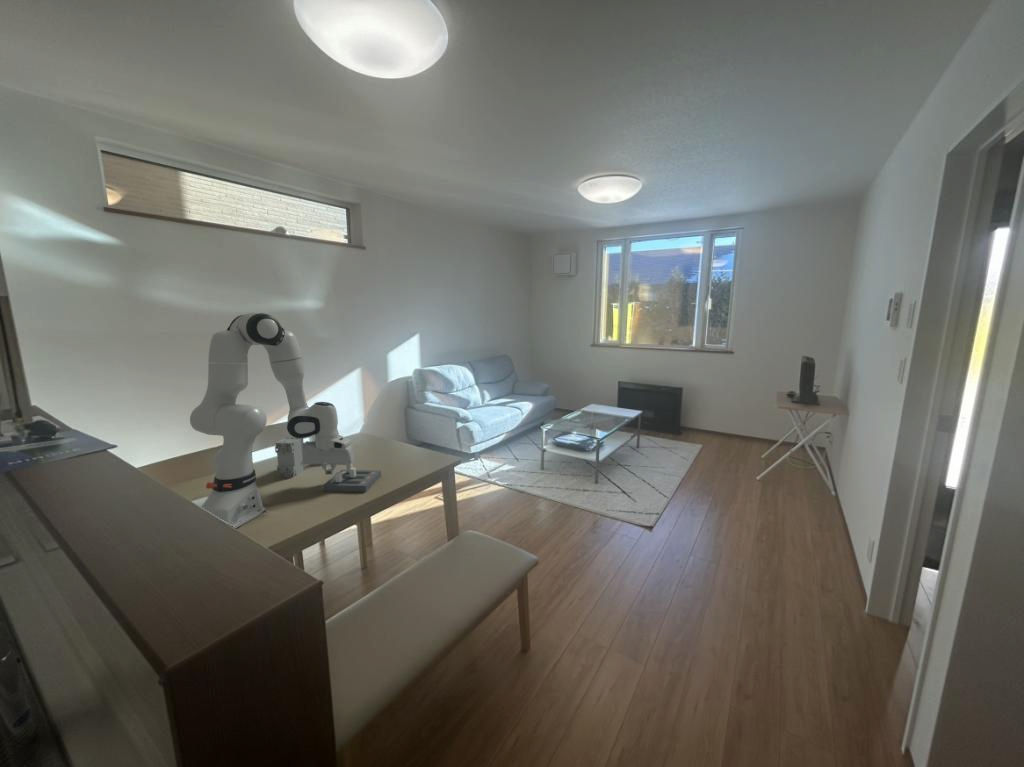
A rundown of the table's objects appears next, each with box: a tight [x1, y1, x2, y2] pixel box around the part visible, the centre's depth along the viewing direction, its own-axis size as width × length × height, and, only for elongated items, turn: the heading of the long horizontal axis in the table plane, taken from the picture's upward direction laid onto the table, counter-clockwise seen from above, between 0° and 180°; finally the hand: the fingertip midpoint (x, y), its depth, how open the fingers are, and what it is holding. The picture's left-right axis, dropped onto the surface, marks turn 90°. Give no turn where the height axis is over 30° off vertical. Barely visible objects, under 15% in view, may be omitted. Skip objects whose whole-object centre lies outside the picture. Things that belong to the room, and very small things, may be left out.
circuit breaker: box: [274, 436, 307, 478], centre depth 180 cm, size 8×14×15 cm, turn 174°
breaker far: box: [345, 462, 354, 473], centre depth 172 cm, size 2×2×4 cm
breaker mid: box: [349, 467, 357, 478], centre depth 167 cm, size 2×2×4 cm
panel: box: [322, 469, 382, 493], centre depth 168 cm, size 16×17×3 cm
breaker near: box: [334, 471, 342, 482], centre depth 162 cm, size 2×2×4 cm
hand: (329, 474), depth 168 cm, fingers closed
